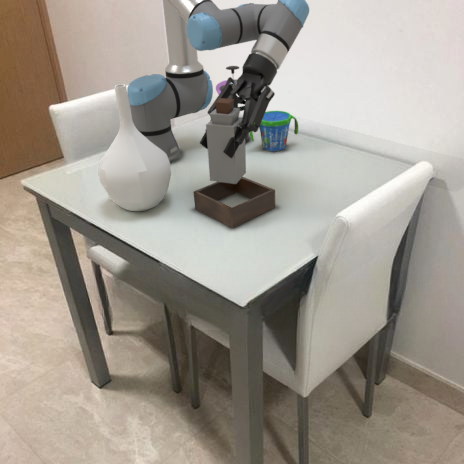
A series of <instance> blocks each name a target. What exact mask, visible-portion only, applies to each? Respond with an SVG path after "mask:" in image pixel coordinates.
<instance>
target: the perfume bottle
mask: <svg viewBox="0 0 464 464" xmlns="http://www.w3.org/2000/svg"><path fill="white" fill-rule="evenodd" d="M215 106H216V109H215V110H214V111H212V112H211V113H210V115H209V117H210V120H211V121H210V120H209V121H208V122H207V123H206V124H205V130H206V131H207V145H208V149H207V158H208V169H209V170H208V171H209V181H210V182H224V183H231V184H237V182H238V181H239V180H240V179H241V178H242V177H245V175H246V173H247V158H246V156H247V155H246V143H245V139H244V141H243V143H242V144H241V145H239V147H238V148H237V150H236V152H235V154H234V156H233V158H230V157H228V156H227V155H226V154H225V153H224V152H223V151H224V149H225V148H226V146H227V144H228V142H229V140H230V138H232V137H234V136H235V132H236V128H237V126H238V127H240V128H242V127H241V126H239V124H240V123H241V122H242V118H243V116H240V114H241V111H240V108H234V99H226V98H220V99H219V100H217V101H216V102H215ZM206 131H205V132H206ZM234 146H235V142H234Z"/></svg>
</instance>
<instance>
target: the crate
mask: <svg viewBox="0 0 464 464" xmlns="http://www.w3.org/2000/svg"><path fill="white" fill-rule="evenodd" d="M235 194H238V195H240V196H243V197H245V198H247V199H248V200H246V201H243V202H241V203H239V204H237V205H235V206H233V207H232V206H229V205H228V204H225V203H223V202H222V201H221V200H224V199H226V198H228V197H231V196H233V195H235ZM193 202H194V210H196V211H198V212H199V213H201V214H204V215H206V216H207V217H209V218H211V219H213V220H215V221H217V222H218V223H219V222H220V223H221V224H223V225H225V226H227V227H229V228H231V229H235V228H237V227H239V226H241V225H243V224H244V223H247V222H249V221H251V220H254V219H255V218H257V217H259V216H261V215H263V214H265V213H267V212H270V211H272V210H274V209H275V208H276V189H275V188H272V187H270V186H267V185H264V184H261V183H259V182H257V181H254V180H252V179H250V178H248V177H245V176H243V177H242V178H241V179H240V180H239V181H238V182H237V184H231V183H224V182H216V181H214V182H213V183H211V184H208V185H206V186H204V187H201V188H199V189H196V190H193Z"/></svg>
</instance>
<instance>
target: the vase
mask: <svg viewBox="0 0 464 464" xmlns="http://www.w3.org/2000/svg"><path fill="white" fill-rule="evenodd" d="M114 92H115V93H114V94H115V98H116V105H117V112H118V118H119V129H118V133H117V134H116V136H115V138H114V139H113V141H112V142H111V144H110V146H109V148H108V149H107V150H106V152H105V153H104V154H103V155H102V157H101V158H100V160H99V161H98V178H99V181H100V184H101V185H102V187H103V189H104V191H105V192H106V194H107V195H108V197H109V198H110V200H112V202H113V203H115V204H116V205H117V206H119V207H120V208H122V209H123V210H125V211H130V212H143V211H148V210H150V209H153V208H155V207H157V206H158V205H159V204H160V202H162V200H163V199H164V197H165V195H166V194H167V191H168V190H169V187H170V182H171V176H172V169H171V162H169V159H168V157H167V154H166V153H165V152H164V151H162V150H161V149H160V148H158V147H157V146H156V145H154V144H153V143H152V142H150V141H149V140H148V139H147V138H146V137H145V136H144V135H142V134H141V133H140V132H139V131H138V130H137V128H136V127H135V125H134V123H133V121H132V115H131V109H130V104H129V99H128V93H127V85H126V84H124V83H120V84H116V85H114Z"/></svg>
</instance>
